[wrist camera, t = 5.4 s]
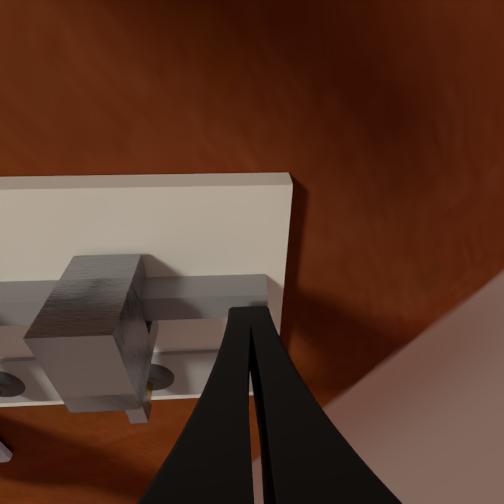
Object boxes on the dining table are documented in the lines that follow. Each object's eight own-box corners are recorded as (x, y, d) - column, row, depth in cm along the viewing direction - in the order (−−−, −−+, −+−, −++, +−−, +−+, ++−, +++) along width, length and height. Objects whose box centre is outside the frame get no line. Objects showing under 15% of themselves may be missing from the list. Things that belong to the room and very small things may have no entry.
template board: (272, 378, 20) (276, 415, 18) (-6, 390, 19) (-30, 430, 17) (288, 172, 12) (298, 201, 10) (-186, 179, 11) (-263, 213, 9)
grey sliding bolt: (172, 382, 17) (160, 461, 14) (125, 384, 17) (103, 464, 14) (141, 253, 12) (112, 335, 9) (73, 255, 12) (22, 338, 9)
